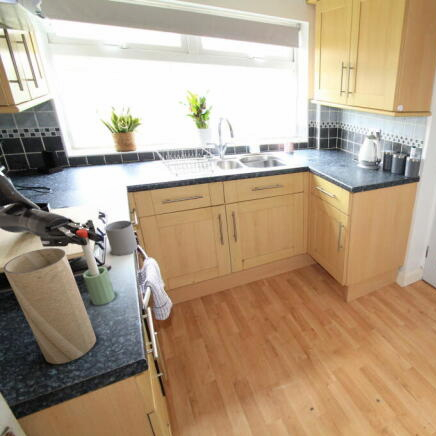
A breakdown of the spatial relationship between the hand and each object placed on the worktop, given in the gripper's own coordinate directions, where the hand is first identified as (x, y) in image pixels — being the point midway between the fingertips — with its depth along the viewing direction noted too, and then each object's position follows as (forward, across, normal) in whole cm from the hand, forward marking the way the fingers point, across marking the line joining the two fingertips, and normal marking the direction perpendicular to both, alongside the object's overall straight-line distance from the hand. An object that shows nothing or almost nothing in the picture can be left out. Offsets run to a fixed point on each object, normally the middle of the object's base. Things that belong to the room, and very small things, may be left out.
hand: (90, 239), depth 84 cm
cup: (-24, +22, +21) cm, 38 cm away
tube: (+8, -15, +21) cm, 27 cm away
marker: (-3, 0, +14) cm, 14 cm away
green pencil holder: (-3, 0, +21) cm, 21 cm away
